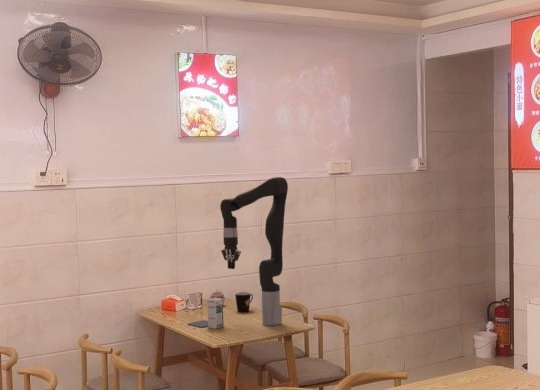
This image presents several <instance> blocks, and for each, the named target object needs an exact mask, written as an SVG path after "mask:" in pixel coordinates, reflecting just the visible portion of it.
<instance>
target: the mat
mask: <svg viewBox="0 0 540 390" xmlns="http://www.w3.org/2000/svg"><path fill="white" fill-rule="evenodd" d="M187 326H192V327H196V328H201V329H204V328H207V327H208V320H207V319H206V320H205V319H203V320H198V321H192V322H189V323H187ZM208 328H209V327H208Z"/></svg>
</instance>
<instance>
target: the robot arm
mask: <svg viewBox="0 0 540 390" xmlns="http://www.w3.org/2000/svg"><path fill="white" fill-rule="evenodd" d="M288 191H289V184H288V181H287V180H286V178H284V177H282V176H277V177H276V176H275V177H271V178H268V179H267V180H265V181H264V182H262V183H261V184H260V185H257V186H255V187H253V188H251V189H248V190H246V191H243V192H241V193H239V194H238V195H236V196H235V197H231V198H224V199H222V200H221V201H220V207H219V208H220V212H221V215H222V216H221V217H222V220H223V236H222V237H223V246H224V248H223V249H221V251H220V252H221V254H222V256H223V259H224V261H226V262H227V269H228V270H234V269H235V268H236V262H237V261H239V258H240V256H241V253H242V251H241V250H238V245H239V244H238V243H239V241H238V240H239V239H238V236H239V235H238V234H239V233H238V219H237V217H236V216H234V215H233V213H232V212H236V211H239V210H240V209H242V208H243V207H247V206H248V205H251V204H253V203H255V202H257V201H258V200H259V199H262V198H266V197H273V199H272V205H271V208H270V210H269V212H268V214H267V216H266V219H265V226H264V227H265V228H264V229H265V230H264V232H265V237H266V240H267V242H268V244H269V246H270V258H268V259H263V260H262V261H261V262H260V263H259V267H258V271H259V273H258V275H259V284H260V287H261V314H262V316H261V317H262V321H261V322H262V325H263V326H269V327H270V326H271V327H275V326H278V325H282V323H283V316H282V314H283V313H282V312H283V311H282V310H283V309H282V305H281V296H280V295H281V294H280V293H281V289H280V287H281V285H279V284H278V283H275V282H274V277H278V276H280V275H281V274H282V272H283V266H284V264H283V242H284V241H283V238H284V230H285V229H284V225H285V223H284V222H285V213H286V212H285V211H286V210H285V209H286V203H287V201H286V200H287V196H288Z"/></svg>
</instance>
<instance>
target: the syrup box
mask: <svg viewBox="0 0 540 390" xmlns="http://www.w3.org/2000/svg"><path fill="white" fill-rule="evenodd" d="M206 308H207V309H206V310H207V311H206V312H207V321H208V328H209V329H214V330H215V329H216V330H217V329H219V328H223V327H224V326H225V325H224V304H223V299H222V298H212V299H210V298H209V299H206Z"/></svg>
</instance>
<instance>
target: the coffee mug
mask: <svg viewBox="0 0 540 390" xmlns="http://www.w3.org/2000/svg"><path fill="white" fill-rule="evenodd" d="M234 294H235V295H234V296H235V303H236V309H237V312H238V313H242V314H243V313H249V312H250V307H251V306H250V304H251V302H252V301H253V299H254V297H253V294H251V292H248V291H247V292H246V291H245V292H244V291H243V292H241V291H240V292H236V293H234Z"/></svg>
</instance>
